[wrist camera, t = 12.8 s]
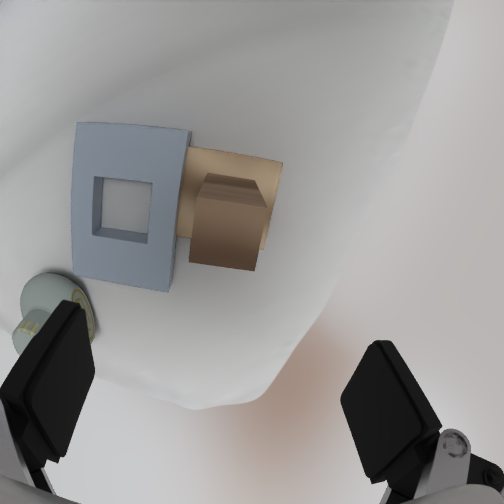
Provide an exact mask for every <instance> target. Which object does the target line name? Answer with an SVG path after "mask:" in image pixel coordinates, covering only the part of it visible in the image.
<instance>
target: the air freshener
mask: <svg viewBox="0 0 504 504" xmlns="http://www.w3.org/2000/svg"><path fill="white" fill-rule="evenodd" d="M62 300H68V301H73V302H77V303H79V304H80V305H81V308H82V309H85V312H86V318H87V326H88V332H89V339H90V344H91V343H92V341H93V340H94V337H95V322H94V317H93V313H92V309H91V306H90V303H89V301H88V299H87V297H86V295H85V293H84V292H83V290H82V289H81V288H80V287H79V286H77V285H76V284H75V283H74V282H72V281H71V280H69V279H68V278H65V277H63V276H61V275H57V274H52V273H44V274H40V275H37V276H35V277H33V278H32V279H30V280H29V281H28V282H27V283H26V285H25V286H24V288H23V290H22V294H21V298H20V306H21V312H22V316H23V320H22V321H21V322H20V324H19V325H18V326H17V328H16V329H15V330H14V332H13V334H12V340H13V344H14V347H15V349H16V351H17V353H18V354H19V355H21V354H22V352H23V351H24V349H25V348H26V346H27V345H28V343H29V342H30V341H31V339H32V338H33V337H34V336H35V335H36V334H37V333H38V332H39V331H40V329H41V328H42V326H43V325H44V323H45V322H46V321H47V319H48V318H49V317H50V315H51V314H52V312H53V311H54V310H55V308H56V307H57V306H58V304H59V303H60V302H61V301H62Z"/></svg>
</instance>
